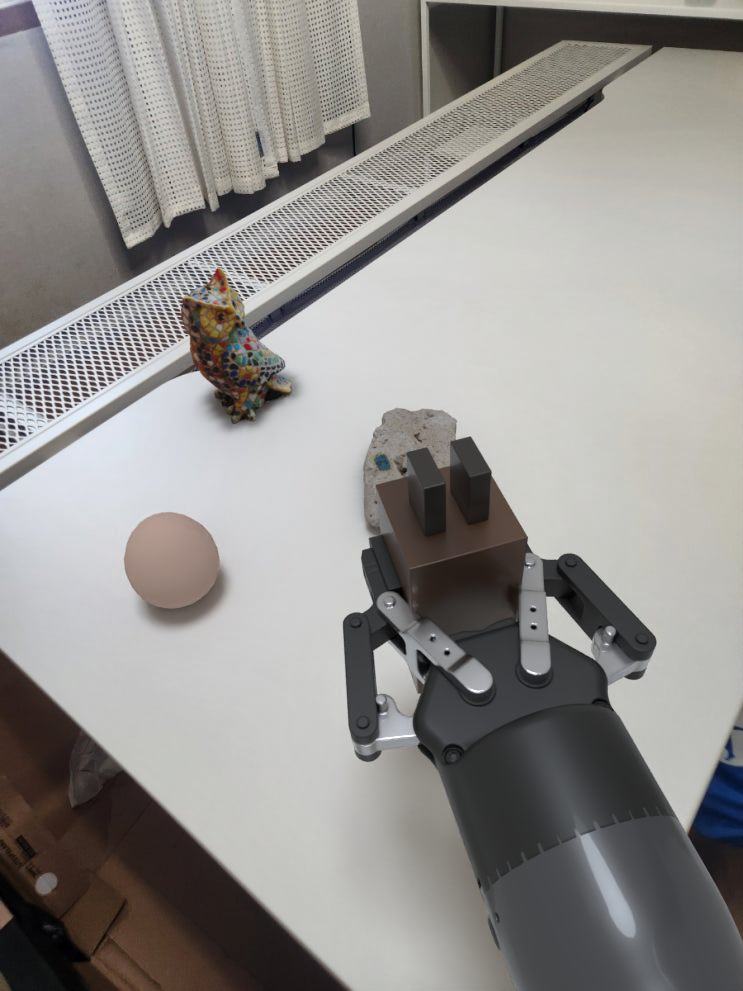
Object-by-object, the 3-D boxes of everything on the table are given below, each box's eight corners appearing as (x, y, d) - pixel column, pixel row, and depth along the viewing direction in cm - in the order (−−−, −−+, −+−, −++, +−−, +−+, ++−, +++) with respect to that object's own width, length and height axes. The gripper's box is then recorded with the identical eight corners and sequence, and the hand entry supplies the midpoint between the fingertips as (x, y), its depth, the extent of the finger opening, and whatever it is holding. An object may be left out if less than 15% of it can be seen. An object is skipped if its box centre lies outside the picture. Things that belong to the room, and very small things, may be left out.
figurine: (291, 421, 70) (263, 291, 59) (206, 430, 70) (162, 302, 59) (292, 373, 76) (266, 246, 65) (213, 381, 76) (175, 256, 65)
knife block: (475, 590, 41) (483, 408, 30) (511, 666, 37) (535, 488, 27) (389, 614, 40) (369, 436, 30) (417, 694, 36) (405, 522, 26)
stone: (466, 523, 54) (346, 504, 56) (460, 555, 59) (349, 537, 60) (483, 399, 61) (375, 384, 62) (476, 437, 66) (376, 423, 67)
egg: (159, 554, 59) (126, 489, 53) (238, 557, 58) (214, 490, 52) (131, 625, 54) (91, 561, 48) (216, 629, 53) (187, 564, 47)
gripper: (804, 770, 22) (565, 445, 34) (384, 913, 20) (284, 518, 32) (734, 843, 27) (549, 541, 39) (398, 961, 26) (308, 608, 37)
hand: (431, 532), depth 35 cm, fingers closed on knife block, 5 cm apart
